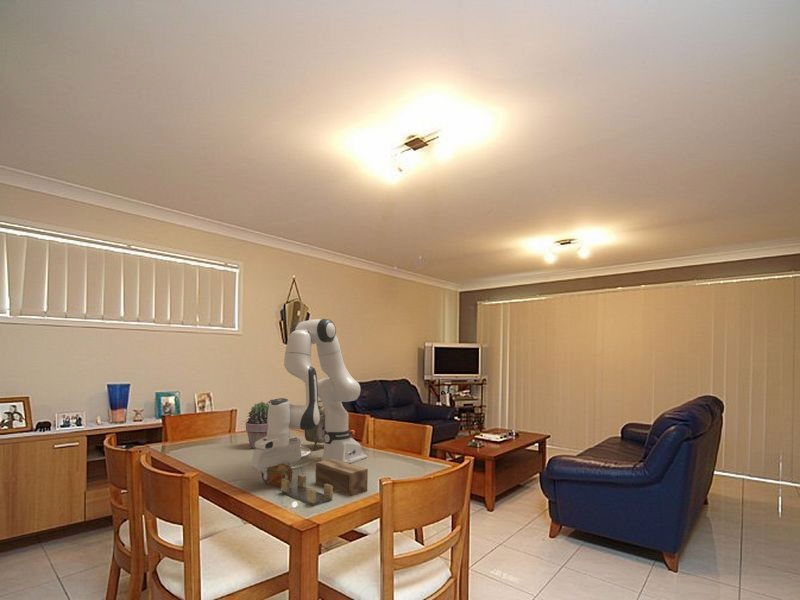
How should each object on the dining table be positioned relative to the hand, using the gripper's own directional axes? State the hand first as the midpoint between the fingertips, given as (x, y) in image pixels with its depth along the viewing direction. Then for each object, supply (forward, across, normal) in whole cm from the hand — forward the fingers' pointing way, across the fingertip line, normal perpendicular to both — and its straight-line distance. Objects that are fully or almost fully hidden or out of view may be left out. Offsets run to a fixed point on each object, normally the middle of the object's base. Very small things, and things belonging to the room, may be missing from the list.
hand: (277, 476), depth 177 cm
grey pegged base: (+3, 0, +20) cm, 20 cm away
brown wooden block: (+3, -16, +20) cm, 26 cm away
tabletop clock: (+3, -50, -41) cm, 65 cm away
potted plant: (+3, -28, -65) cm, 71 cm away
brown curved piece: (+3, 0, 0) cm, 3 cm away
